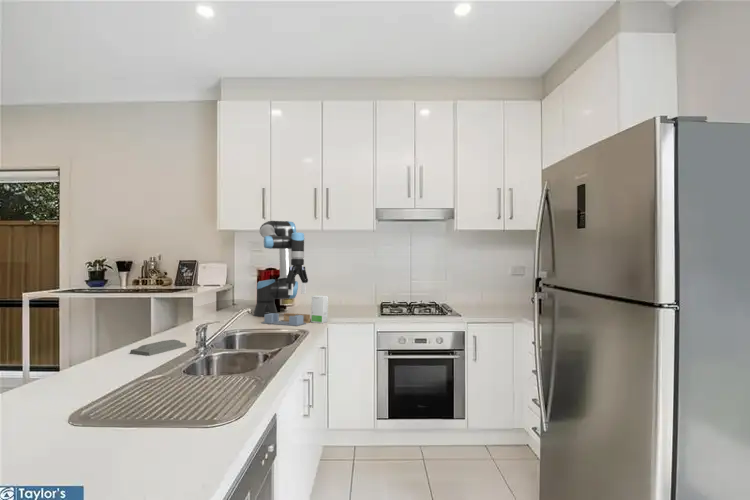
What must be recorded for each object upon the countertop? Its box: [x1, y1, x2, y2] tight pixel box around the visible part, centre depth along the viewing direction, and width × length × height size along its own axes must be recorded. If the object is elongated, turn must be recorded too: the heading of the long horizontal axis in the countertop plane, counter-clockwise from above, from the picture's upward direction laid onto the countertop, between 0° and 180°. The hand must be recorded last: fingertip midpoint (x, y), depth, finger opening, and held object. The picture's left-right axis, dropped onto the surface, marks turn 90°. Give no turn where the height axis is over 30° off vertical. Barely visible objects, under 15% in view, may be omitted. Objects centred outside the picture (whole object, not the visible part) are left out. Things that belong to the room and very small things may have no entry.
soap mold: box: [129, 339, 187, 357], centre depth 182 cm, size 10×20×4 cm, turn 161°
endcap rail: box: [261, 312, 307, 327], centre depth 258 cm, size 10×24×5 cm, turn 67°
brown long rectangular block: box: [283, 312, 311, 324], centre depth 265 cm, size 4×16×5 cm, turn 67°
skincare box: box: [310, 295, 329, 324], centre depth 266 cm, size 8×7×16 cm
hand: (297, 294), depth 265 cm, fingers open, 13 cm apart
